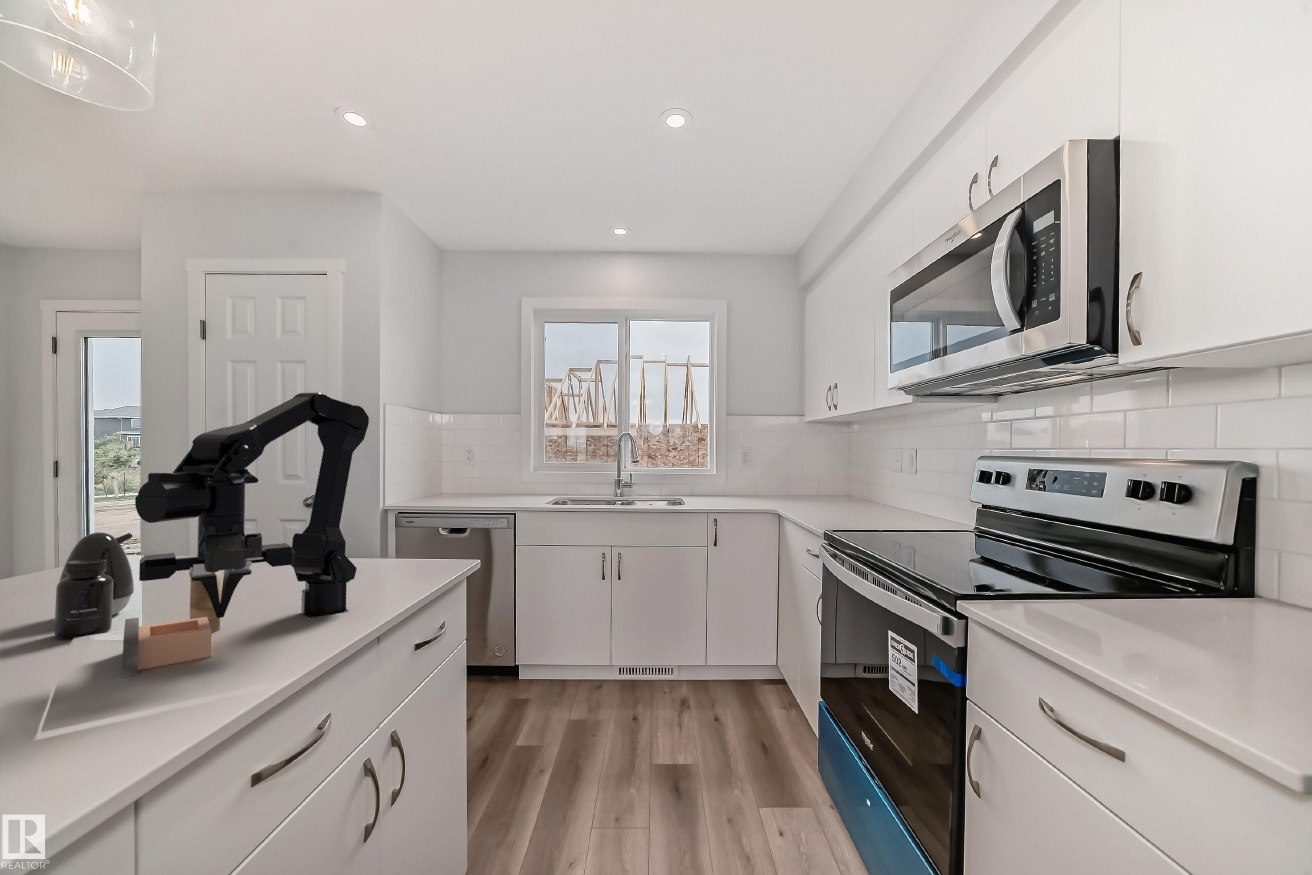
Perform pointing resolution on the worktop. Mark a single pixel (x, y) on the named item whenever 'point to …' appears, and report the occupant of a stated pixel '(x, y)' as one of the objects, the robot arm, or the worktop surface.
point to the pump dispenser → (107, 563)
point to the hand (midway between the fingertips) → (220, 617)
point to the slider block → (173, 642)
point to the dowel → (204, 603)
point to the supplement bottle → (84, 600)
